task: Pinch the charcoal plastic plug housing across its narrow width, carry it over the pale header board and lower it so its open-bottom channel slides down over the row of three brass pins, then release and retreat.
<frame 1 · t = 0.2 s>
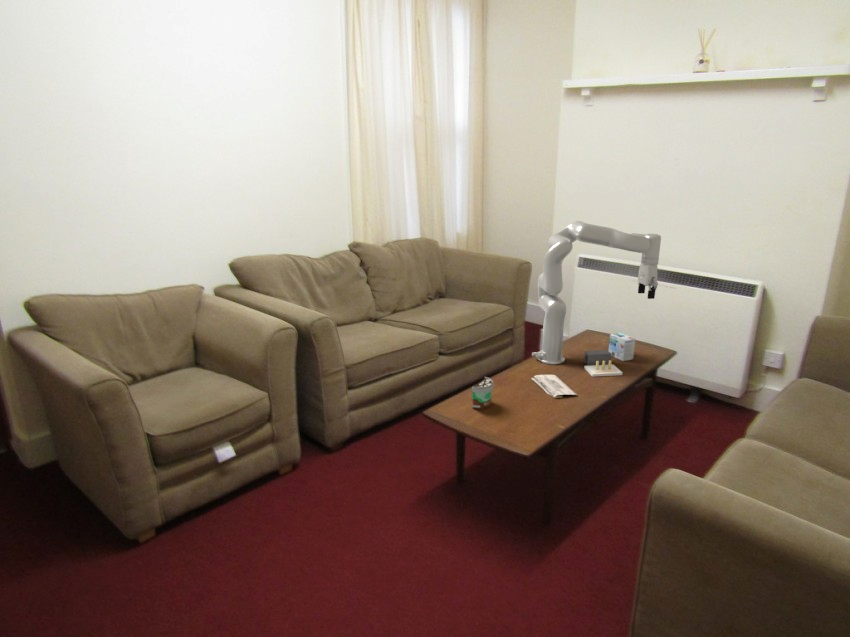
hand: (645, 295, 270), 31 cm above the table, tool pointing down, fingers open, 9 cm apart
header board: (603, 371, 261), on the table
food container: (484, 406, 229), on the table
light bulb box: (620, 357, 278), on the table
newspaper: (553, 389, 245), on the table
plug housing: (597, 364, 270), on the table
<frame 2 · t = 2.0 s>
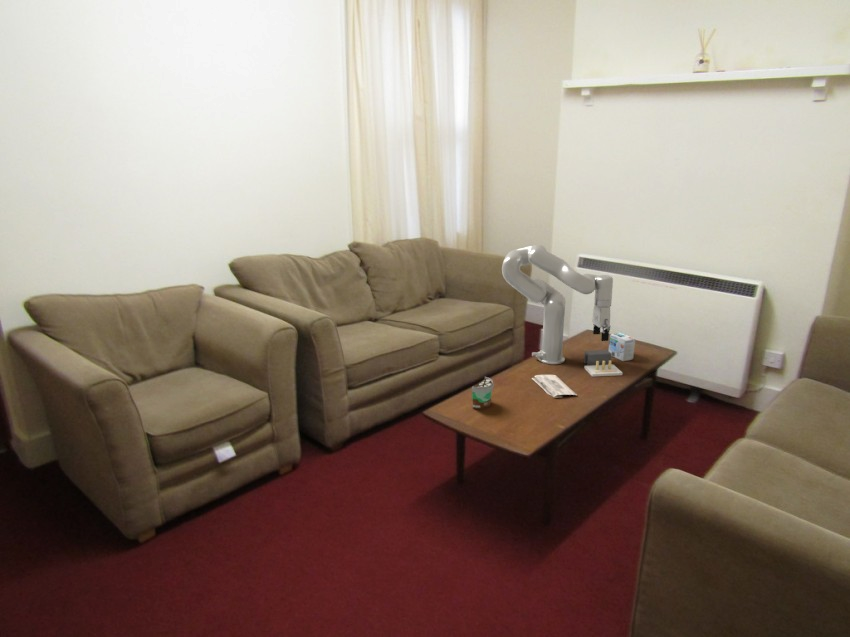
hand: (600, 337, 266), 13 cm above the table, tool pointing down, fingers open, 9 cm apart
nothing on the table moved.
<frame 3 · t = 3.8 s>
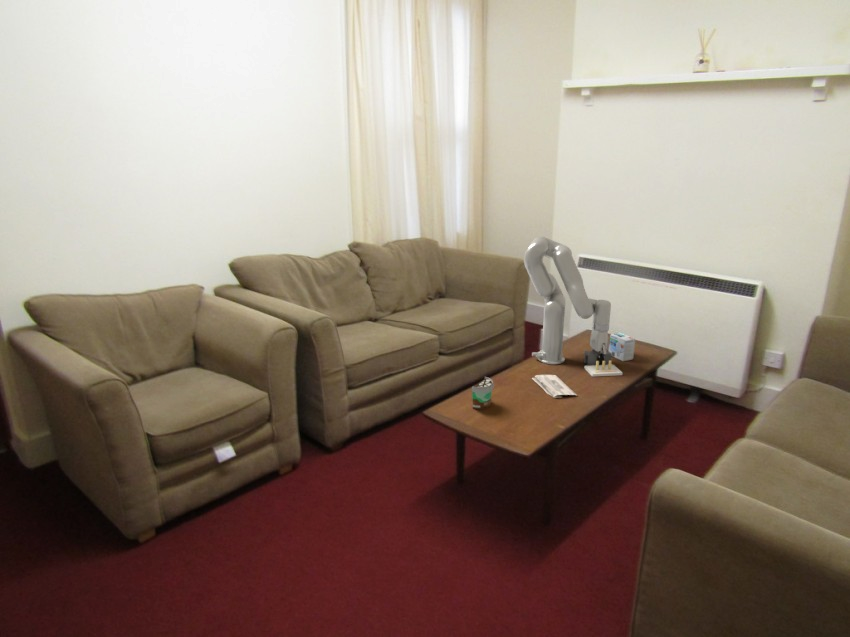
hand: (597, 362, 269), 1 cm above the table, tool pointing down, fingers closed on plug housing, 5 cm apart
plug housing: (597, 364, 270), on the table, touching gripper
everything else where it was.
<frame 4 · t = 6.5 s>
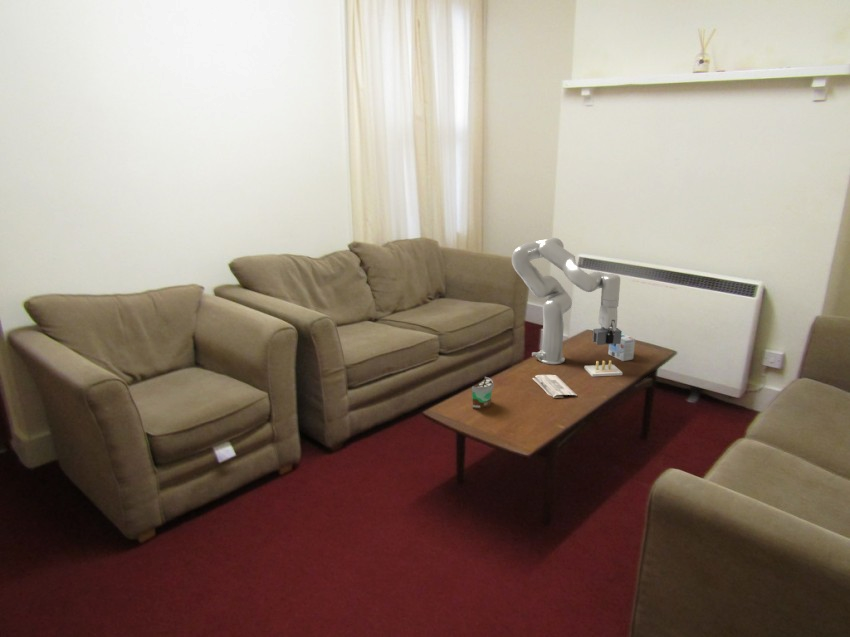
hand: (606, 340, 256), 15 cm above the table, tool pointing down, fingers closed on plug housing, 5 cm apart
plug housing: (606, 342, 256), point 14 cm above the table, touching gripper
everything else where it was.
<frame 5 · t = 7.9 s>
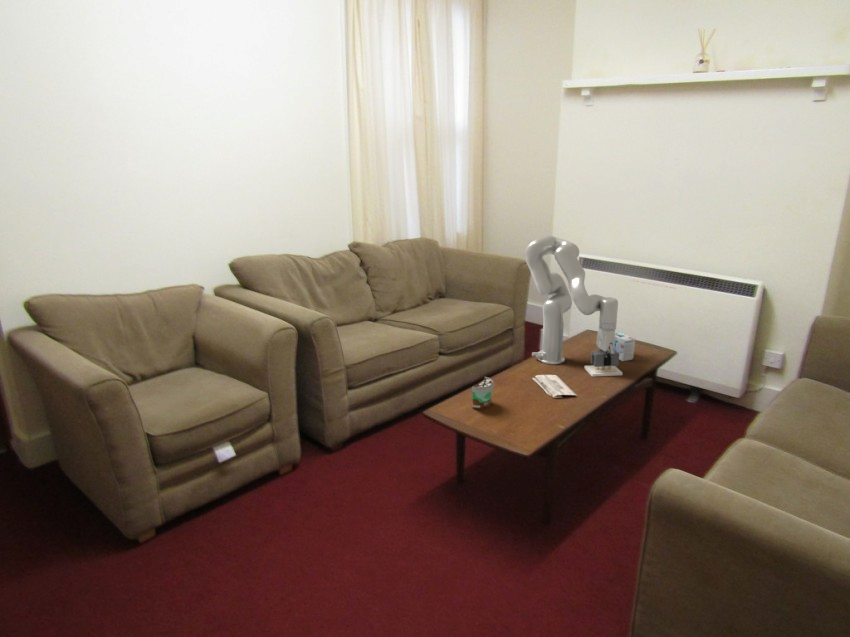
hand: (604, 362, 259), 5 cm above the table, tool pointing down, fingers closed on plug housing, 5 cm apart
plug housing: (604, 364, 259), point 4 cm above the table, touching gripper
everything else where it was.
when the fingers open (2 cm above the table, at t = 9.1 s): plug housing stays where it is, resting on header board.
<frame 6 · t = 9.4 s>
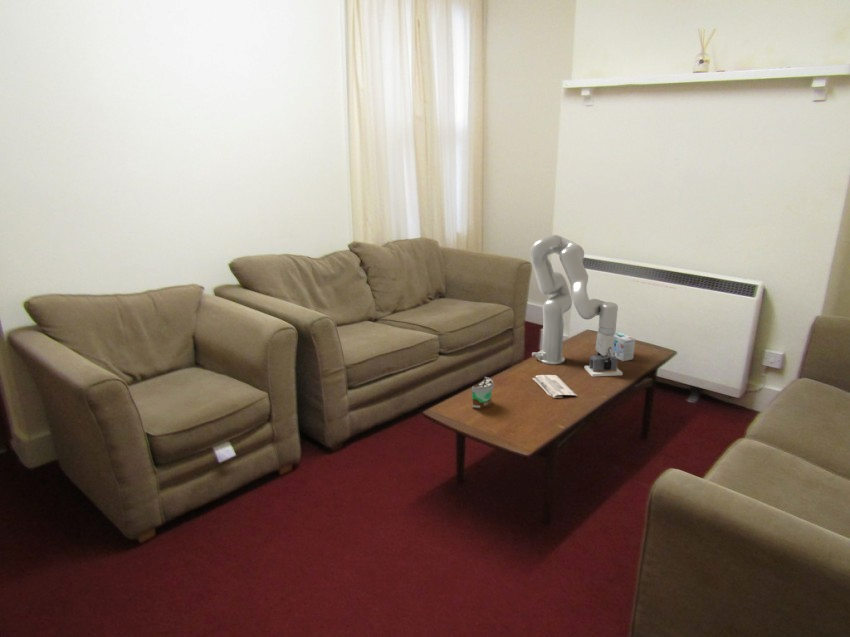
hand: (603, 365, 260), 3 cm above the table, tool pointing down, fingers open, 8 cm apart
plug housing: (602, 369, 260), point 1 cm above the table, touching header board
everything else where it was.
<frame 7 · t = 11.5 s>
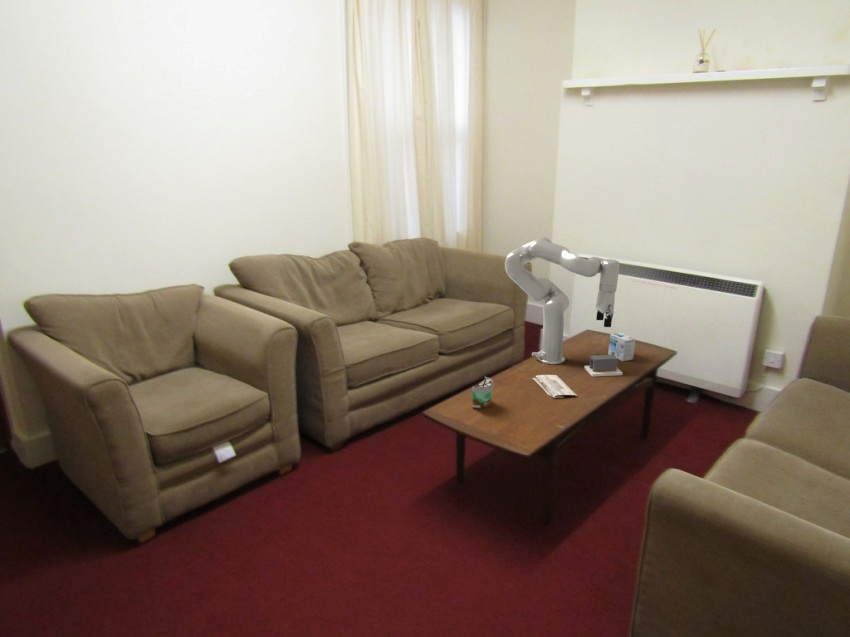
hand: (603, 323, 259), 22 cm above the table, tool pointing down, fingers open, 9 cm apart
nothing on the table moved.
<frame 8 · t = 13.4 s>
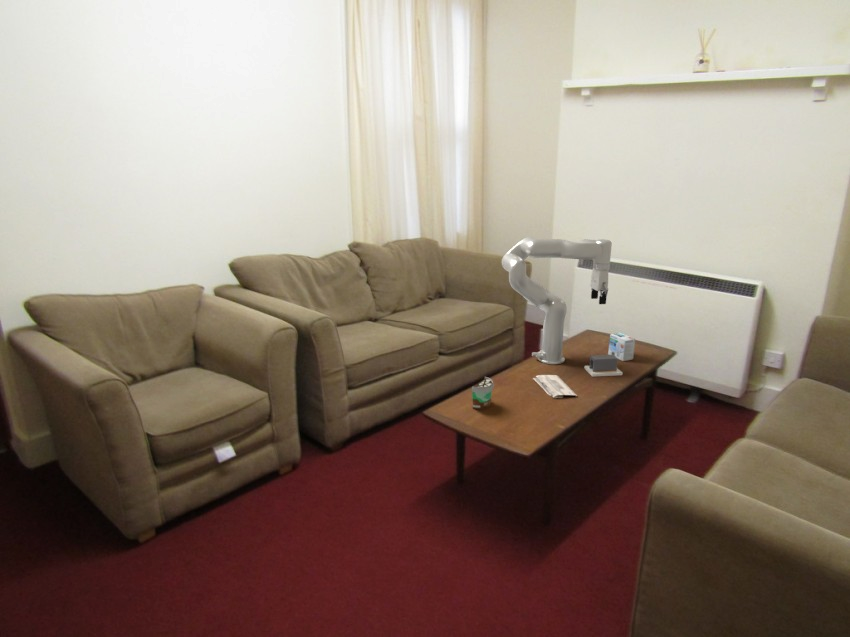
hand: (598, 301, 271), 28 cm above the table, tool pointing down, fingers open, 9 cm apart
nothing on the table moved.
at the end: plug housing 0.2 cm off-centre on the header board, point 1.2 cm above the header board's base; plug housing tilted 0°; the gripper is holding nothing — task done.
